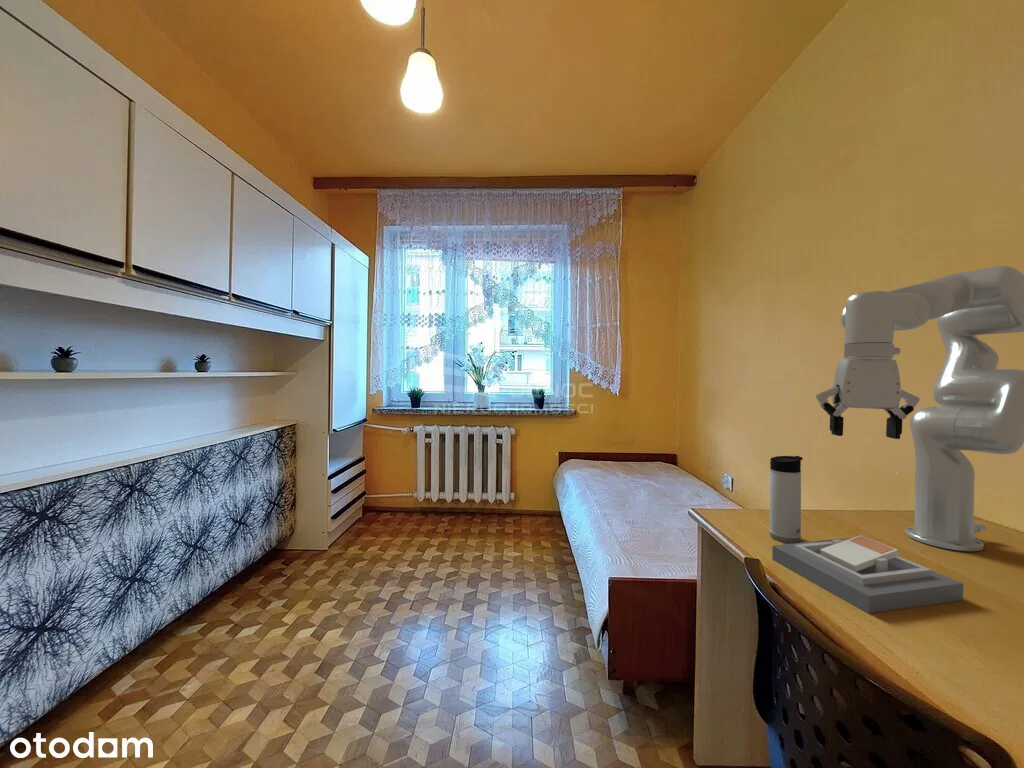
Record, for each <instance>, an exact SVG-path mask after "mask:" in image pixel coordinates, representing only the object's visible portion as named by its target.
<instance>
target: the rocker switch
mask: <svg viewBox="0 0 1024 768" xmlns="http://www.w3.org/2000/svg"><path fill="white" fill-rule="evenodd" d="M850 538H851V539H848V540H845V541H842V542H840V543H837V544H834V545H831V546H828V547H825V548H823V549H820V553H821V555H822V556H824V557H826V558H828V559H830V560H832V561H834V562H836V563H839V564H841V565H843V566H845V567H847V568H849V569H851V570H853V571H855V572H857V571H859V570H862V569H865V568H867V567H870V566H873V565H876V559H879V558H884V559H887V560H889V559H892V558H894V557H897V556H899V557H900V553H899V549H897V548H894V547H893V546H889V545H887V544H885V543H882V542H879V541H876V540H874V539H871V538H869V537H867V536H863V535H861V534H860V535H857V536H854V537H850Z"/></svg>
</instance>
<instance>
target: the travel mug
mask: <svg viewBox="0 0 1024 768" xmlns="http://www.w3.org/2000/svg"><path fill="white" fill-rule="evenodd" d="M769 460H770V461H769V464H770V465H769V536H770V537H771V538H772V537H773V538H772V539H774V540H776V541H780V542H783V543H787V544H794V543H800V541H801V539H802V538H801V537H802V535H801V533H802V531H801V527H802V522H801V521H802V520H801V519H802V516H801V515H802V492H801V491H802V470H801V467H802V463H801V462H802V461H803V457H802V456H799V455H778V456H773V457H771V458H770V459H769Z"/></svg>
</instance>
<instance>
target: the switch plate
mask: <svg viewBox="0 0 1024 768" xmlns="http://www.w3.org/2000/svg"><path fill="white" fill-rule="evenodd" d="M851 538H852V537H844V538H843V537H842V538H833V539H824V540H814V541H804V542H797V543H787V544H786V543H785V544H778V545H777V544H776V545H772V557H771V558H772V560H773V561H774V560H775V561H774V562H776V561H777V563H778V564H780V565H781V566H783V567H785V568H787V569H789V570H790V571H792V572H794V573H795V574H798V575H800V576H801V577H803V578H805V580H808V581H810V582H811V583H813V584H815V585H817V586H819V587H820V588H823V589H824V590H826V591H828V592H830V593H832V594H833V595H835V596H836V597H839V598H840V599H842V600H844V601H846V602H847V603H848V604H851V605H853V606H855V607H856V608H858V609H860V610H861V611H863V612H865V613H867V614H873V613H874V614H875V613H882V612H888V611H889V612H890V611H896V610H903V609H910V608H917V607H923V606H929V605H936V604H937V605H938V604H939V605H940V604H944V603H951V602H952V603H953V602H960V601H964V583H963V582H961V581H959V580H956V579H954V578H952V577H950V576H946V575H944V574H942V573H940V572H936V571H934V570H932V569H931V568H928V567H925V566H923V565H921V564H918V563H915V562H913V561H911V560H909V559H906V558H904V557H901V556H900V555H899V556H897V557H894V558H892V559H889V560H887V559H884V558H879V559H876V565H873V566H870V567H867V568H865V569H862V570H859V571H857V572H855V571H853V570H851V569H849V568H847V567H845V566H843V565H841V564H839V563H836V562H834V561H832V560H830V559H828V558H826V557H824V556H822V555H821V553H820V549H823V548H825V547H828V546H831V545H834V544H837V543H840V542H842V541H845V540H848V539H851Z"/></svg>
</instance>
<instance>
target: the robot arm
mask: <svg viewBox="0 0 1024 768" xmlns="http://www.w3.org/2000/svg"><path fill="white" fill-rule="evenodd" d="M934 319H936V323H937V328H938V329H937V330H938V331H939V335H940V337H941V341H942V343H943V346H944V348H945V351H946V357H945V360H944V363H943V365H942V367H941V370H940V372H939V374H938V377H937V379H936V382H935V385H934V388H933V395H932V397H933V399H934V401H935V402H936V403H937V404H938V405H941V406H937V405H936V406H927V407H921V408H919V409H918V410H916V411H915V412H914V413H912V412H913V411H914V409H915V408H916V406H917V405H918V403H919V402H920V400H921V399H920V397H919V396H916V395H914V394H913V393H910V392H907V391H906V390H903V389H902V387H901V377H900V370H899V367H898V363H897V359H893V358H894V356H895V355H900V353H901V348H900V347H895V344H894V333H895V332H898V331H909V330H913V329H917V328H920V327H922V326H923V325H925V324H926V323H927V322H928V321H930V320H934ZM840 323H841V325H842V327H843V329H844V345H843V359H839V360H838V362H837V365H836V368H835V373H834V379H833V385H832V387H831V388H829V389H827V390H824V391H821V392H819V393H816V394H815V398H816V400H817V401H818V403H819V406H820V407H821V409H823V410H824V411H825V412H826V413H827V415H828V416H829V431H830V432H831V435H833V436H837V437H842V436H844V417H843V416H842V414H843V413H844V412H845V411H846V410H848V408H849V409H850V408H851V409H873V410H875V409H877V410H884V411H885V412H886V413H887V414H888V415H889V417H887V418H886V427H885V428H886V431H885V436H886V437H887V438H890V439H895V440H900V439H901V435H902V434H903V420H905V419H906V418H907V416H908V415H909V414H911V413H912V415H911V417H910V423H909V424H910V425H909V426H910V432H911V436H912V441H913V444H914V446H913V447H914V456H915V471H914V474H915V475H914V485H915V486H914V525H910V526H907V527H906V528H905V534H906V535H907V536H908V537H909V538H911V539H913V540H915V541H917V542H919V543H923V544H925V545H926V544H927V545H930V546H934V547H936V548H937V547H938V548H942V549H947V550H952V551H958V552H979V551H982V550H984V548H985V547H984V545H985V544H984V542H983V541H982V540H980V539H978V538H976V537H975V534H977V533H980V532H981V533H982V532H986V530H987V528H986V525H984V524H983V523H981V522H975V521H974V519H975V518H974V517H975V516H974V515H975V512H974V511H975V478H976V476H975V473H976V472H975V468H974V465H973V464H972V462H971V460H969V458H968V457H967V456H966V454H965V453H963V452H962V451H969V452H970V451H971V452H979V453H986V454H995V455H1011V454H1014V453H1016V452H1018V451H1020V449H1021V448H1022V446H1023V445H1024V370H1023V369H1018V368H1017V369H1015V368H997V366H998V364H999V361H1000V359H999V357H1000V356H999V354H998V353H997V351H996V350H995V349H993V348H992V347H991V346H990V345H988V343H986V342H985V341H983V340H981V339H980V338H979V337H978V336H979V335H980V336H981V335H982V336H983V335H995V334H996V335H997V334H1013V333H1014V334H1015V333H1016V334H1017V333H1024V273H1022V272H1021V271H1020V270H1018V269H1016V268H1015V267H1011V266H1010V265H1009V266H1008V265H1007V266H1006V265H1000V266H999V265H998V266H994V267H993V266H992V267H987V268H982V269H981V268H980V269H975V270H968V271H963V272H956V273H951V274H950V273H949V274H947V275H944V276H940V277H936V278H934V279H931V280H927V281H924V282H920V283H916V284H912V285H908V286H907V285H906V286H903V287H900V288H897V289H892V290H890V291H889V290H888V291H886V290H871V291H864V292H863V291H862V292H858V293H854V294H851V295H850V296H848V298H847V299H846V302H845V306H844V308H843V309H842V311H841V314H840ZM829 398H831V402H832V404H833V405H831V403H830V402H829V400H828V399H829ZM901 399H903V400H904V401H905V402H904V405H902V406H900V404H901ZM974 522H975V523H974Z"/></svg>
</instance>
